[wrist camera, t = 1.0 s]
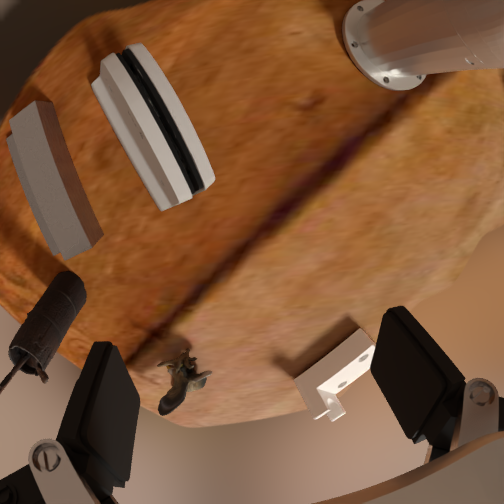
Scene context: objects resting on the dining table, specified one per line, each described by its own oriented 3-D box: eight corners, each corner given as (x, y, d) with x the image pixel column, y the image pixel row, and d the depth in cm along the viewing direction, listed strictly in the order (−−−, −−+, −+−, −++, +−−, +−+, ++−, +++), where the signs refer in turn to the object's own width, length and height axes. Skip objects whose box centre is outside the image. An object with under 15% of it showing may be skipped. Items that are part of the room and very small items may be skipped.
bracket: (314, 387, 47) (333, 421, 41) (293, 379, 43) (313, 419, 37) (373, 340, 45) (398, 373, 39) (360, 327, 40) (387, 365, 34)
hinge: (90, 86, 24) (83, 47, 15) (129, 66, 25) (137, 22, 16) (161, 213, 31) (180, 224, 22) (197, 190, 32) (230, 191, 23)
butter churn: (123, 306, 34) (63, 524, 9) (76, 331, 35) (9, 509, 9) (81, 247, 31) (-54, 446, 5) (36, 280, 31) (-74, 444, 6)
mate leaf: (52, 102, 24) (34, 100, 20) (103, 234, 31) (92, 247, 27) (8, 135, 24) (-11, 137, 20) (58, 256, 31) (44, 270, 27)
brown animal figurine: (143, 348, 36) (146, 401, 38) (170, 379, 31) (172, 433, 32) (193, 337, 42) (191, 388, 43) (226, 362, 36) (220, 414, 38)
